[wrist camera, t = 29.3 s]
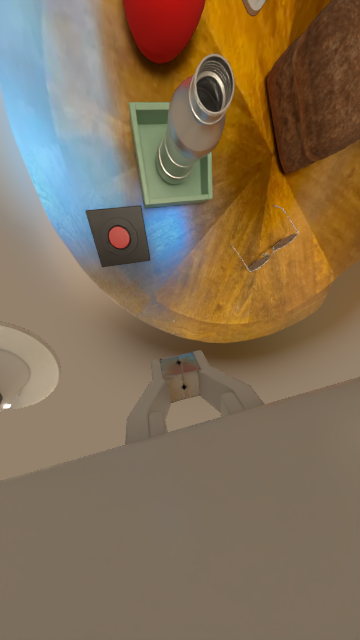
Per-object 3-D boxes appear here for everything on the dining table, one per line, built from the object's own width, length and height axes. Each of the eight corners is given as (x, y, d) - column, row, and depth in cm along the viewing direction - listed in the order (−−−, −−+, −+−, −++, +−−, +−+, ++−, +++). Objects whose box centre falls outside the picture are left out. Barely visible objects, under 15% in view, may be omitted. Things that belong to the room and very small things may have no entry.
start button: (112, 249, 34) (111, 249, 32) (107, 228, 32) (106, 227, 31) (131, 246, 35) (131, 247, 33) (127, 226, 33) (126, 225, 31)
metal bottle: (149, 146, 31) (167, 30, 13) (186, 139, 32) (248, 18, 14) (159, 190, 34) (185, 142, 16) (192, 182, 35) (251, 128, 17)
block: (103, 265, 38) (100, 268, 35) (88, 211, 34) (82, 209, 30) (149, 259, 40) (150, 261, 36) (140, 207, 35) (141, 203, 32)
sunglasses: (243, 272, 46) (253, 273, 41) (225, 245, 43) (233, 243, 39) (287, 235, 44) (302, 231, 40) (271, 205, 42) (285, 197, 37)
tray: (144, 208, 35) (145, 204, 31) (130, 120, 30) (128, 102, 25) (203, 202, 37) (212, 198, 33) (201, 119, 32) (211, 101, 27)
